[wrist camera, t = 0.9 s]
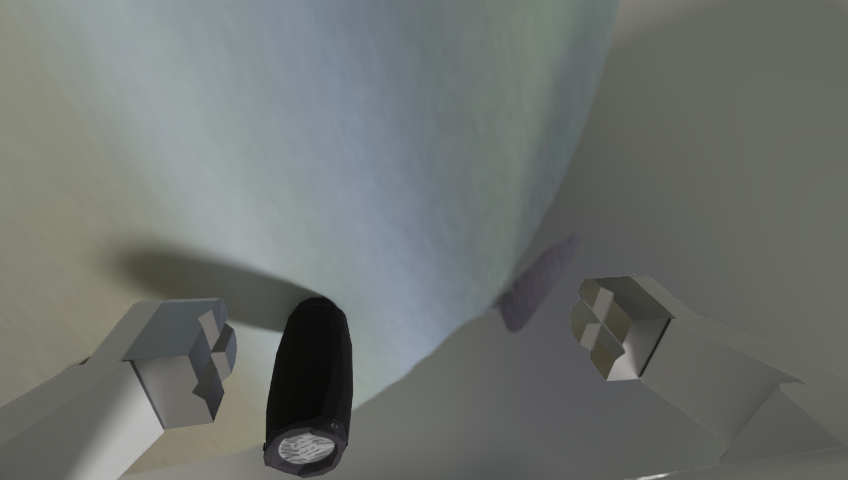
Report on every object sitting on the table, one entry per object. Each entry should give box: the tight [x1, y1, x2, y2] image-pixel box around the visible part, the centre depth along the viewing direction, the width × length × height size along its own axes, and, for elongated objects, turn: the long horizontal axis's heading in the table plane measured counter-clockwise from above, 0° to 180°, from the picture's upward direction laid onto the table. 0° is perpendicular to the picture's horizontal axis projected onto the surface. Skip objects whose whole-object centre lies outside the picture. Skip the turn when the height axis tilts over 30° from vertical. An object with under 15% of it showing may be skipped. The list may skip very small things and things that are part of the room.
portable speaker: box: [263, 298, 353, 478], centre depth 43 cm, size 9×9×20 cm
